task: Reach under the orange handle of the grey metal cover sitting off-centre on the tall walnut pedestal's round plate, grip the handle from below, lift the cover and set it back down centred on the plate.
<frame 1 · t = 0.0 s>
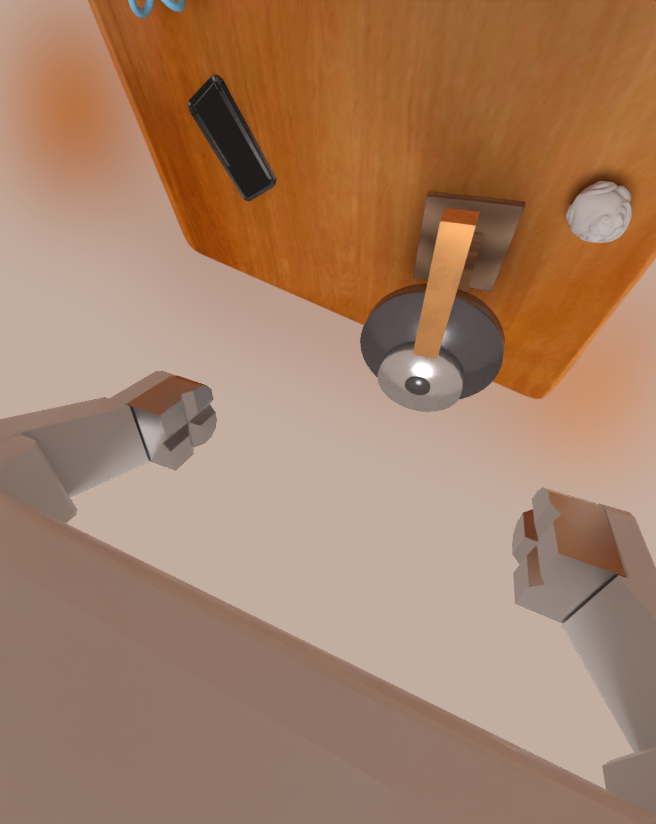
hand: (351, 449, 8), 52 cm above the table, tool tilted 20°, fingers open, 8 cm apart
pedestal: (462, 242, 53), on the table
cover: (421, 373, 42), point 26 cm above the table, touching pedestal
phone: (236, 143, 55), on the table
frog figurine: (596, 198, 43), on the table
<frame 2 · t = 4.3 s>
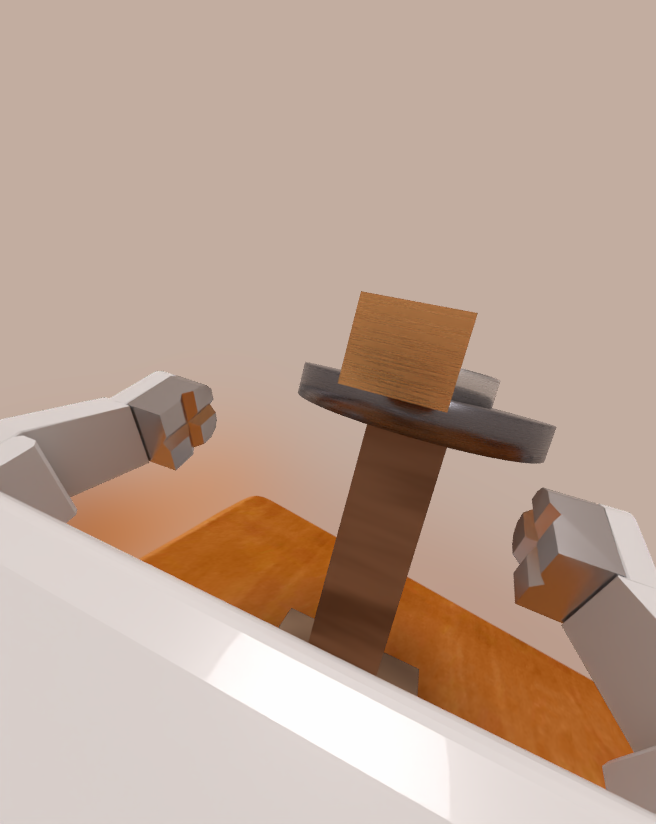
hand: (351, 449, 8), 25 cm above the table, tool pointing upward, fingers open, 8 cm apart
pedestal: (327, 710, 27), on the table
cover: (421, 390, 26), point 26 cm above the table, touching pedestal
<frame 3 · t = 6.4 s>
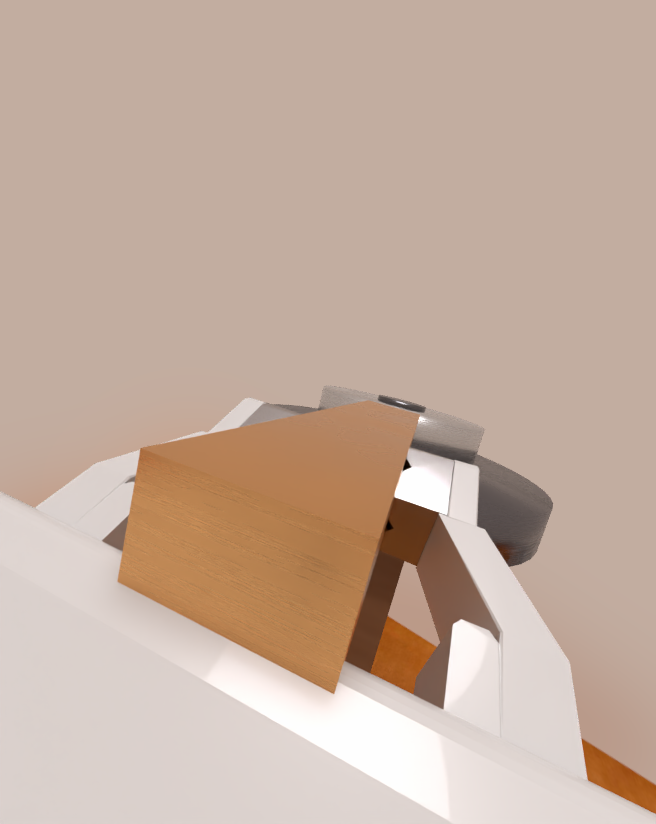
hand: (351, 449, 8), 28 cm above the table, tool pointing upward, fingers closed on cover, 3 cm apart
pedestal: (281, 815, 23), on the table
cover: (392, 436, 22), point 26 cm above the table, touching gripper, pedestal
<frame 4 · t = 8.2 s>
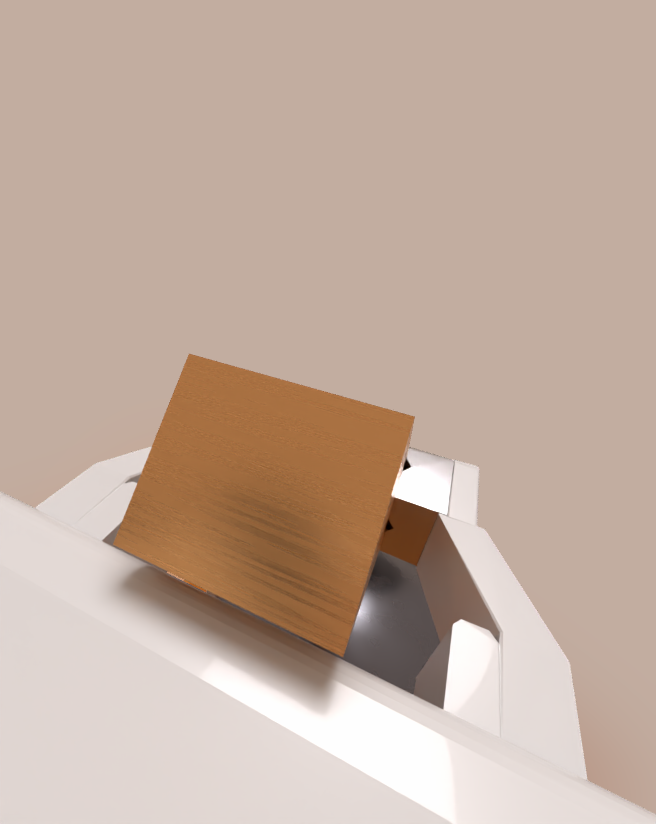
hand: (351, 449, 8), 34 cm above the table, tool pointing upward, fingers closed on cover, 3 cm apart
cover: (373, 500, 21), point 29 cm above the table, tilted 16°, touching gripper
when the fingers open (33 cm above the table, at t = 10.3 s): cover drops 1 cm, resting on pedestal.
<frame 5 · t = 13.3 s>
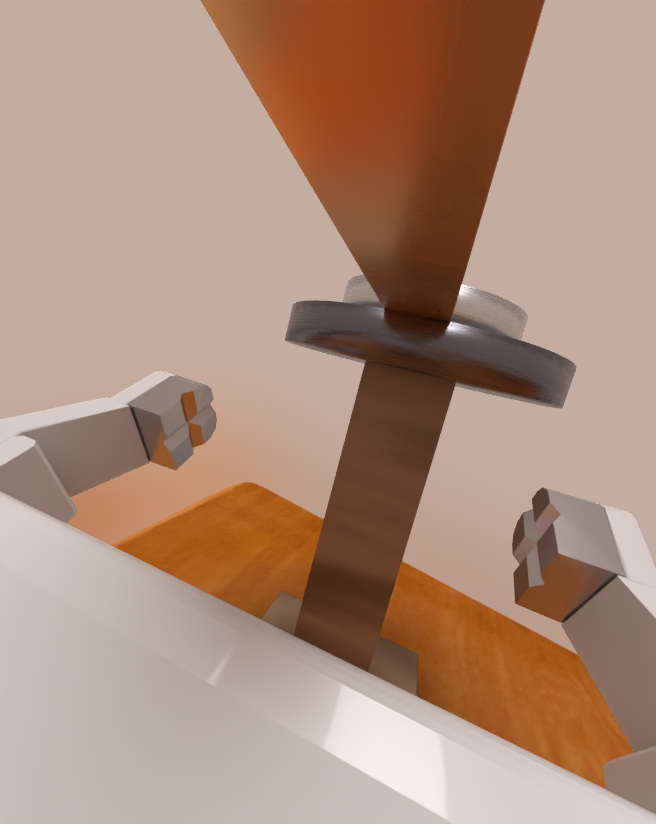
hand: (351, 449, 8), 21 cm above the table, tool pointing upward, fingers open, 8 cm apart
pedestal: (319, 698, 25), on the table
cover: (421, 339, 20), point 26 cm above the table, touching pedestal
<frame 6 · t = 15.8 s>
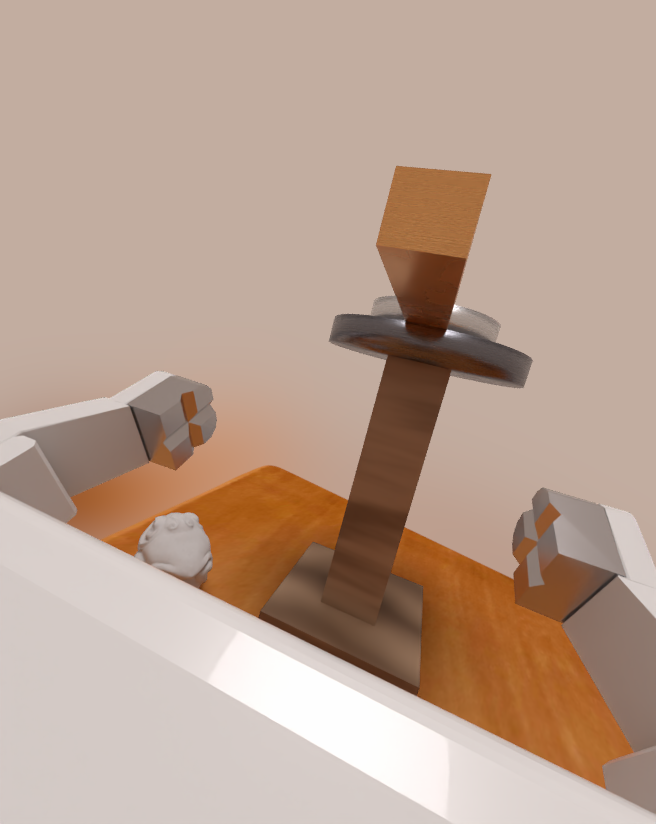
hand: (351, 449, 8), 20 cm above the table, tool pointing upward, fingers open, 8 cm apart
pedestal: (349, 610, 32), on the table
cover: (427, 339, 28), point 26 cm above the table, touching pedestal
frog figurine: (167, 598, 29), on the table
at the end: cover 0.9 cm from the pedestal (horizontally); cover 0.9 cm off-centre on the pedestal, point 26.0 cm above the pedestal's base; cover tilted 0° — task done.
